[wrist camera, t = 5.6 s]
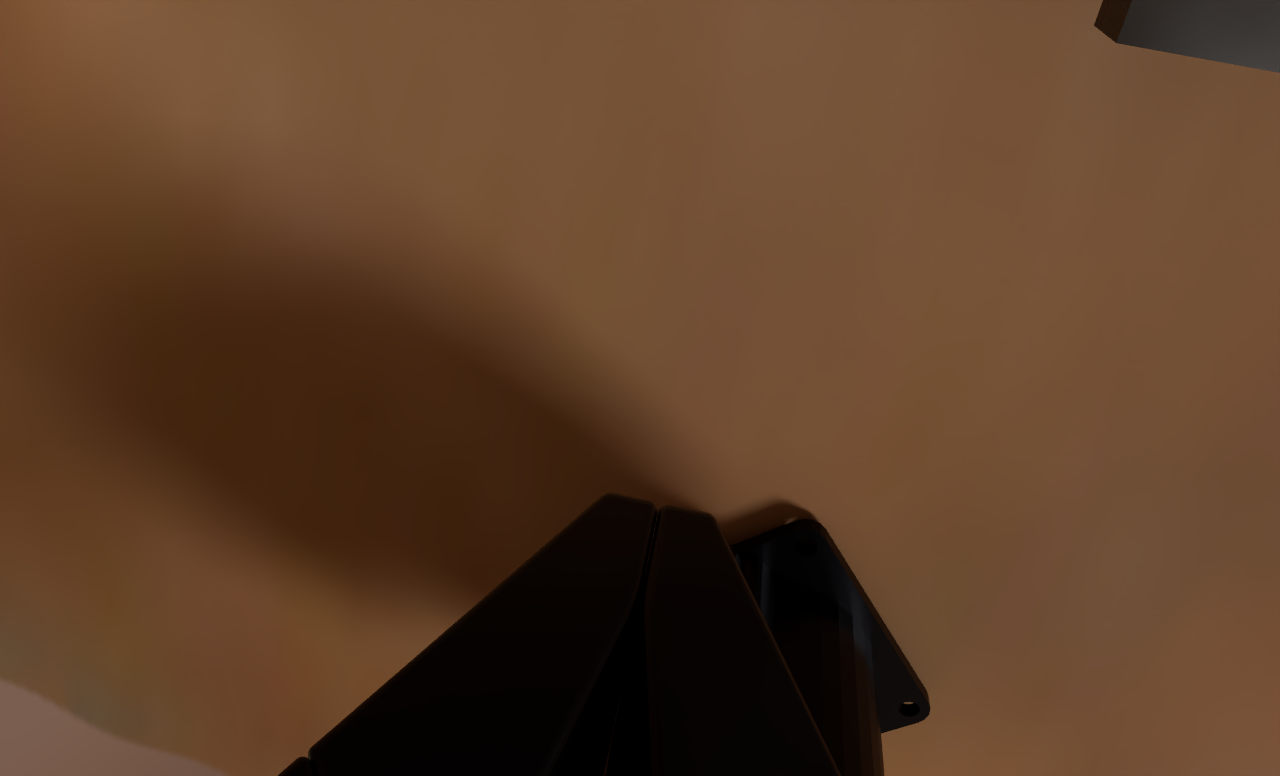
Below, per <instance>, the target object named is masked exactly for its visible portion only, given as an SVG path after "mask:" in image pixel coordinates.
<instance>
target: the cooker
mask: <svg viewBox="0 0 1280 776" xmlns="http://www.w3.org/2000/svg"><path fill="white" fill-rule="evenodd" d="M1094 26H1095V27H1097V28H1098V29H1099V30H1100V31H1102V32H1103V33H1104V34H1105V35H1107V36H1108V37H1109V38H1111V39H1112V40H1113V41H1114V42H1116V43H1119V44H1125V45H1130V46H1136V47H1141V48H1147V49H1152V50H1158V51H1163V52H1169V53H1174V54H1180V55H1185V56H1191V57H1196V58H1202V59H1207V60H1213V61H1218V62H1224V63H1229V64H1235V65H1240V66H1246V67H1251V68H1257V69H1263V70H1268V71H1274V72H1279V73H1280V0H1103V2H1102V5H1101V7H1100V10H1099V13H1098V16H1097V18H1096V21H1095V24H1094Z"/></svg>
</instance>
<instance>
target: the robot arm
mask: <svg viewBox="0 0 1280 776" xmlns="http://www.w3.org/2000/svg"><path fill="white" fill-rule="evenodd" d="M657 513H658V516H657ZM656 518H657V521H656ZM655 523H656V526H655ZM654 528H655V531H654ZM653 533H654V536H653ZM652 537H653V541H652ZM806 538H807V539H810V540H813V541H814V542H815V543H813V544H812V545H806V546H805V545H801V544H799V543H798V542H797V541H799V540H800V539H806ZM651 542H652V546H651ZM650 547H651V551H650ZM649 552H650V556H649ZM648 557H649V560H648ZM647 562H648V565H647ZM646 567H647V570H646ZM645 572H646V575H645ZM904 702H914V703H913V704H903V703H904ZM929 712H930V703H929V696H928V693H927V691H926V689H925V687H924V686H923V684H922V683H921V681H920V679H919V678H918V676H917V675H916V673H915V671H914V670H913V668H912V666H911V665H910V663H909V662H908V660H907V658H906V657H905V655H904V654H903V652H902V650H901V649H900V647H899V646H898V644H897V642H896V641H895V639H894V638H893V636H892V634H891V633H890V631H889V630H888V628H887V626H886V625H885V623H884V622H883V620H882V618H881V617H880V615H879V614H878V612H877V610H876V609H875V607H874V605H873V604H872V602H871V601H870V599H869V597H868V596H867V594H866V593H865V591H864V589H863V588H862V586H861V585H860V583H859V581H858V580H857V578H856V577H855V575H854V573H853V572H852V570H851V569H850V567H849V565H848V564H847V562H846V561H845V559H844V557H843V556H842V554H841V553H840V551H839V549H838V548H837V546H836V544H835V543H834V541H833V540H832V538H831V536H830V535H829V533H828V532H827V530H826V529H825V528H824V527H823V526H822V525H821V523H818V522H816V521H814V520H809V519H802V520H797V521H794V522H791V523H789V524H786V525H783V526H781V527H778V528H776V529H773V530H770V531H768V532H765V533H763V534H760V535H757V536H755V537H752V538H750V539H747V540H744V541H742V542H739V543H737V544H734V545H732V546H729V545H728V543H727V541H726V539H725V537H724V535H723V533H722V531H721V529H720V527H719V525H718V523H717V521H716V519H715V518H714V517H713V516H712V515H711V514H709V513H706V512H701V511H696V510H692V509H687V508H682V507H677V506H672V505H665V506H663V507H662V508H661V509H660V510H659V512H658V509H657V506H656V505H655V504H654V503H653V502H651V501H648V500H644V499H639V498H634V497H629V496H625V495H620V494H615V493H607V494H604V495H603V496H601V497H600V498H599V499H598V500H597V501H595V502H594V503H593V504H592V505H591V506H590V507H589V508H587V509H586V510H585V511H584V512H583V513H582V514H580V515H579V516H578V517H577V518H576V519H575V520H573V521H572V522H571V523H570V524H569V525H568V526H567V527H565V528H564V529H563V530H562V531H561V532H560V533H558V534H557V535H556V536H555V537H554V538H553V539H552V540H550V541H549V542H548V543H547V544H546V545H545V546H543V547H542V548H541V549H540V550H539V551H538V552H536V553H535V554H534V555H533V556H532V557H531V558H530V559H528V560H527V561H526V562H525V563H524V564H523V565H521V566H520V567H519V568H518V569H517V570H516V571H515V572H513V573H512V574H511V575H510V576H509V577H508V578H506V579H505V580H504V581H503V582H502V583H501V584H499V585H498V586H497V587H496V588H495V589H494V590H493V591H491V592H490V593H489V594H488V595H487V596H486V597H484V598H483V599H482V600H481V601H480V602H479V603H478V604H476V605H475V606H474V607H473V608H472V609H471V610H469V611H468V612H467V613H466V614H465V615H464V616H462V617H461V618H460V619H459V620H458V621H457V622H456V623H454V624H453V625H452V626H451V627H450V628H449V629H447V630H446V631H445V632H444V633H443V634H442V635H441V636H439V637H438V638H437V639H436V640H435V641H434V642H432V643H431V644H430V645H429V646H428V647H427V648H425V649H424V650H423V651H422V652H421V653H420V654H419V655H417V656H416V657H415V658H414V659H413V660H412V661H410V662H409V663H408V664H407V665H406V666H405V667H403V668H402V669H401V670H400V671H399V672H398V673H397V674H395V675H394V676H393V677H392V678H391V679H390V680H388V681H387V682H386V683H385V684H384V685H383V686H382V687H380V688H379V689H378V690H377V691H376V692H375V693H373V694H372V695H371V696H370V697H369V698H368V699H366V700H365V701H364V702H363V703H362V704H361V705H360V706H358V707H357V708H356V709H355V710H354V711H353V712H351V713H350V714H349V715H348V716H347V717H346V718H345V719H343V720H342V721H341V722H340V723H339V724H338V725H336V726H335V727H334V728H333V729H332V730H331V731H329V732H328V733H327V734H326V735H325V736H324V737H323V738H321V739H320V740H319V741H318V742H317V743H316V744H314V745H313V746H312V747H311V748H310V749H309V751H308V758H307V757H299V758H297V759H296V760H295V761H294V762H293V763H291V764H290V765H289V766H288V767H287V768H286V769H285V770H283V771H282V772H281V773H280V774H279V775H278V776H884V765H883V753H882V741H881V733H884V732H887V731H891V730H894V729H898V728H901V727H905V726H908V725H911V724H915V723H918V722H920V721H922V720H924V719H925V718H926V717H927V716H928V715H929Z"/></svg>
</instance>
